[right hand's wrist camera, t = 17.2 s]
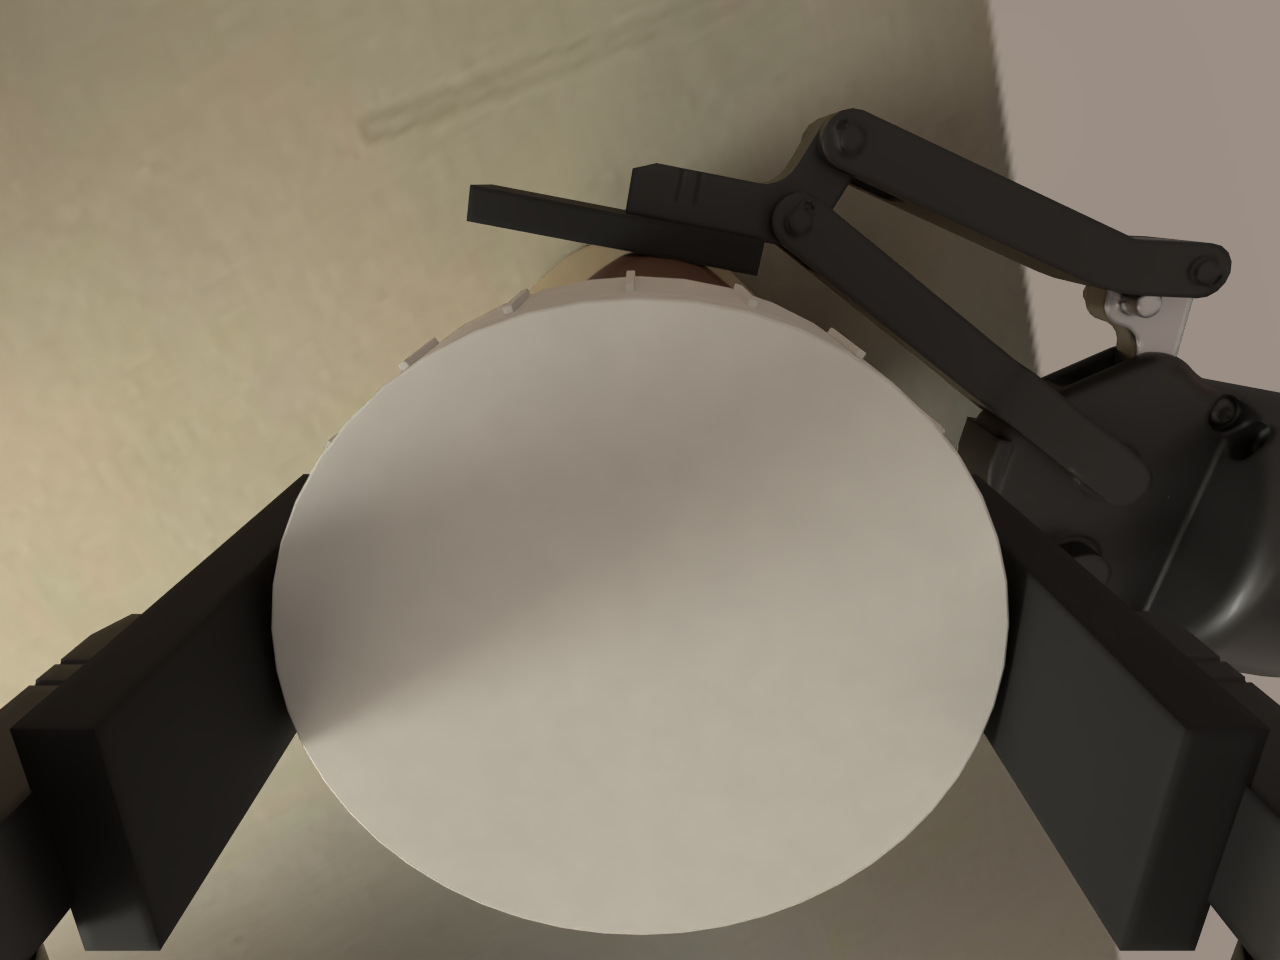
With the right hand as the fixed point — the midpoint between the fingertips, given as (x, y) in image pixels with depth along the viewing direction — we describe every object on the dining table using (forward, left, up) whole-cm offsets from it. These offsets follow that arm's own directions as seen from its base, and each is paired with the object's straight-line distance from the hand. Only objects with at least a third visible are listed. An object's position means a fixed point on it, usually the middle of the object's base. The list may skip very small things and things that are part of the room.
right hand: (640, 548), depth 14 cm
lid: (0, 0, +3) cm, 3 cm away
